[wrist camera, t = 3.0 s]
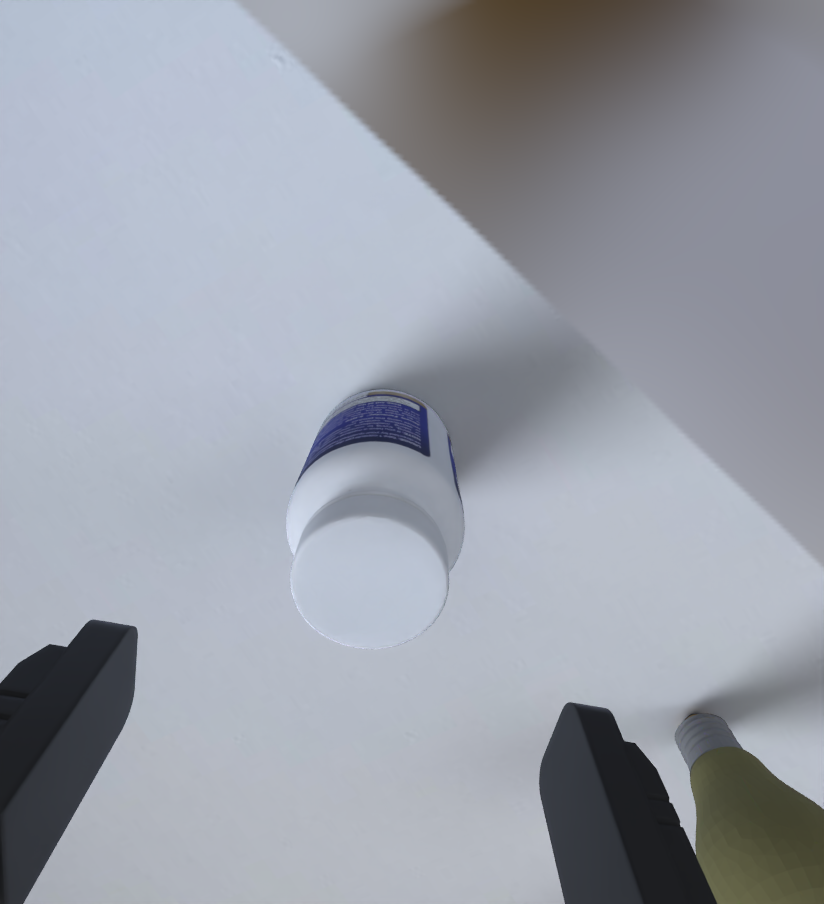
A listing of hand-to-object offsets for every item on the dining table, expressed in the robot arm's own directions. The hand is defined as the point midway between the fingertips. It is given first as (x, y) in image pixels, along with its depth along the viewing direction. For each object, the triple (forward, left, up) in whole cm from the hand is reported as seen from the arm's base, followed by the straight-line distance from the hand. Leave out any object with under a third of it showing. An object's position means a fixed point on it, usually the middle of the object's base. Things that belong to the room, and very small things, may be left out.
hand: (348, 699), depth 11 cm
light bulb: (-17, +10, -13) cm, 24 cm away
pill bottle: (0, 0, -13) cm, 13 cm away
